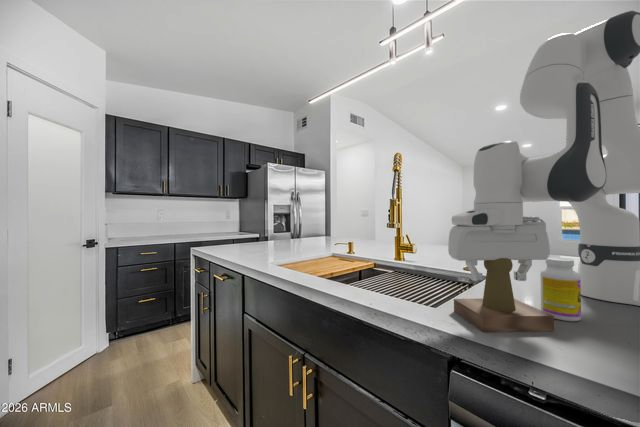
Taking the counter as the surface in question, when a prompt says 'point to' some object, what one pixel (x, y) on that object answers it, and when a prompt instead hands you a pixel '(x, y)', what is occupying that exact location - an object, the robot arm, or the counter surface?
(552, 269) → the supplement bottle
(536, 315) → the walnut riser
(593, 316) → the counter surface
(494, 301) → the cork
